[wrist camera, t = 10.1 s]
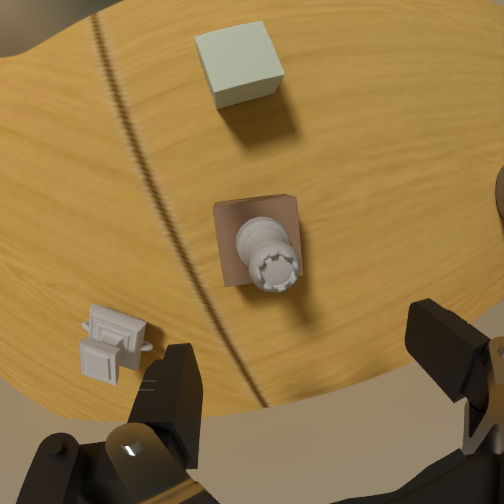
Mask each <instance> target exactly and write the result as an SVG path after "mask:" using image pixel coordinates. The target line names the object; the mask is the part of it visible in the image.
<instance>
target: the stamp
mask: <svg viewBox="0 0 504 504" xmlns="http://www.w3.org/2000/svg"><path fill="white" fill-rule="evenodd" d="M82 326H83V328H84V329H85V330H87V331H88V332H89V338H84V339H83V340H81V341H80V342H79V345H80V360H81V371H82V374H83V375H86V376H89V377H91V378H94V379H97V380H100V381H103V382H106V383H109V384H112V385H116V384H117V381H118V378H119V365H120V366H123V367H126V368H129V369H132V370H137V369H138V368H139V365H140V358H141V352H142V351H150V350H152V349H153V345H152V344H151V343H149V342H147V341H145V340H143V339H144V334H145V328H146V322H145V321H143V320H141V319H139V318H136V317H133V316H130V315H128V314H125V313H122V312H119V311H116V310H113V309H111V308H108V307H103V306H100V305H97V304H94V303H92V305H91V308H90V321H84V322H83V323H82Z"/></svg>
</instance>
